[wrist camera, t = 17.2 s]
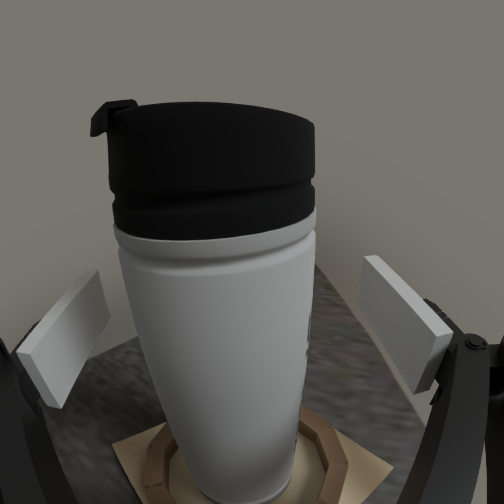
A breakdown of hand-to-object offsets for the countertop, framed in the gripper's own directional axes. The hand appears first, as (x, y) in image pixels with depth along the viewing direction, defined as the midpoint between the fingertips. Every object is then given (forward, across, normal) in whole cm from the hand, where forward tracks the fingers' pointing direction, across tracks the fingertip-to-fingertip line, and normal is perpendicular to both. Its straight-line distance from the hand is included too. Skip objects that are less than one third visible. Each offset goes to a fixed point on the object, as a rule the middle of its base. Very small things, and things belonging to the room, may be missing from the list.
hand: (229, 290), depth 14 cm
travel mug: (-3, 0, -12) cm, 13 cm away
